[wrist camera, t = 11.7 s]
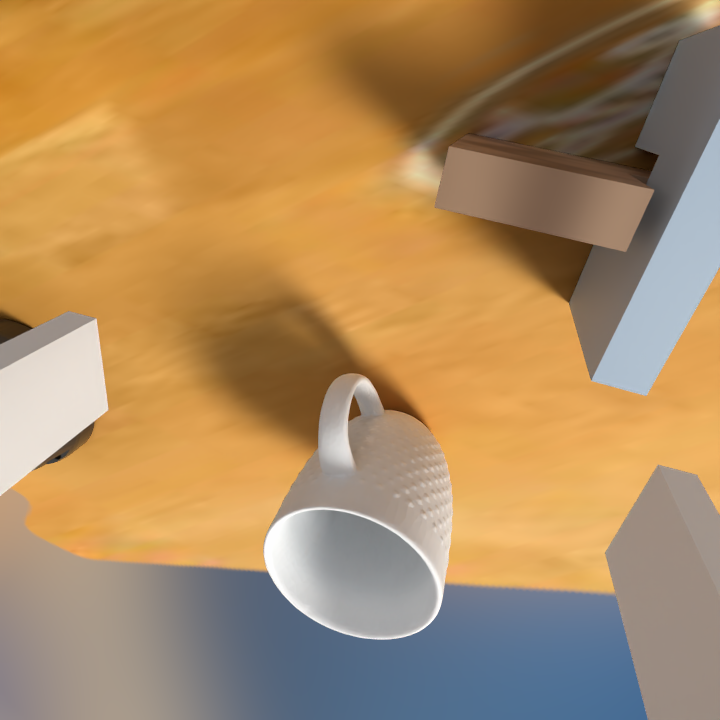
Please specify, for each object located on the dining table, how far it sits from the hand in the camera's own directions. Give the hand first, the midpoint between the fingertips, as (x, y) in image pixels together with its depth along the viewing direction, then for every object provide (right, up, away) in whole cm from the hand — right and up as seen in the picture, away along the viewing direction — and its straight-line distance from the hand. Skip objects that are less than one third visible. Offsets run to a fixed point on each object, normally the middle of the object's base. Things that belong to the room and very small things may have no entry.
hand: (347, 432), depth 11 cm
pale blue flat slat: (+16, +11, +15) cm, 25 cm away
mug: (+3, -4, +28) cm, 28 cm away
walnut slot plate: (+16, +11, +15) cm, 25 cm away
